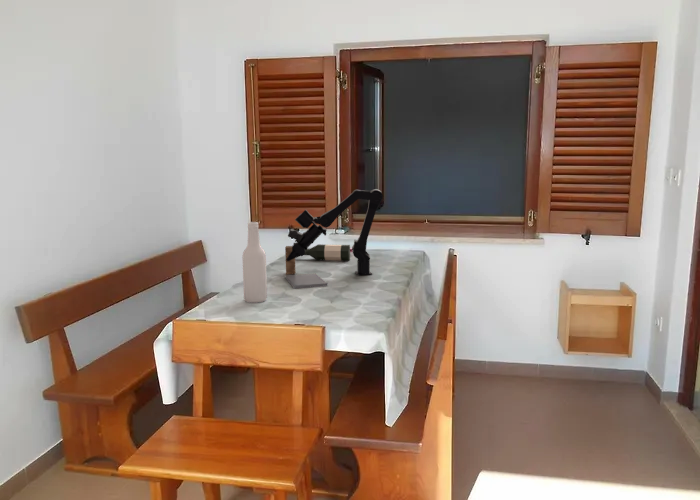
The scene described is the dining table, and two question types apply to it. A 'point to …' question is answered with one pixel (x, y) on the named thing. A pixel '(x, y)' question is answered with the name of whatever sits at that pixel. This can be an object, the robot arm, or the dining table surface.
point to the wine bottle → (329, 252)
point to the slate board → (305, 280)
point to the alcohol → (254, 267)
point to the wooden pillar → (291, 263)
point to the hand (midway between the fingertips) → (287, 259)
